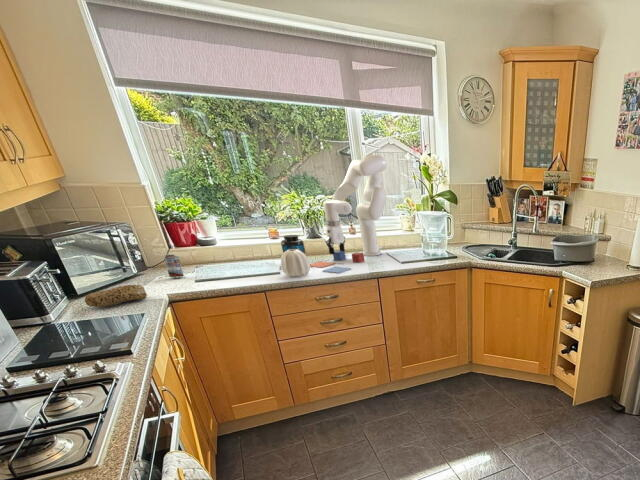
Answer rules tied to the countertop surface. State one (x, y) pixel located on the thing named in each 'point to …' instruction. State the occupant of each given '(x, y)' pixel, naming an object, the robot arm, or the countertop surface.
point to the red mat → (321, 264)
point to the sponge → (115, 296)
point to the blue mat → (336, 269)
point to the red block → (358, 257)
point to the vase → (295, 263)
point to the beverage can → (173, 266)
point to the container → (292, 243)
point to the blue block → (339, 255)
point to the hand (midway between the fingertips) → (337, 252)
